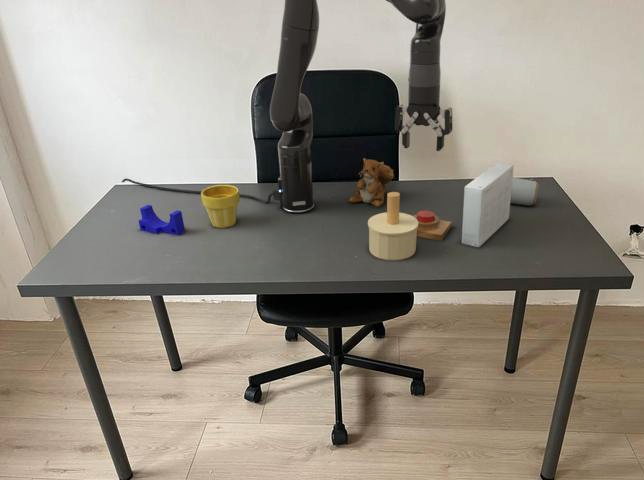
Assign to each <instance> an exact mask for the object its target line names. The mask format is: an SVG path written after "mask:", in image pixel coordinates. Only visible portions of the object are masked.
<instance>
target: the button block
mask: <svg viewBox="0 0 644 480" xmlns="http://www.w3.org/2000/svg"><path fill="white" fill-rule="evenodd" d="M410 215H411V216H413V217H415V218H416V219H417V218H418V213H416V214H413V215H412V214H410ZM451 228H452V221H449V220H448V221H447V220H443V219H440V217H439V216H438V215H436V214H434V221H432V222H426V223H425V222H420V221H418V228H417V236H416V237H420V238H424V239H430V240H436V241H441V242H442V241H443V239H444V238H445V236H446V235H447V234H448V232H449V231H450V230H451Z"/></svg>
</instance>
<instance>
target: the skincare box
mask: <svg viewBox="0 0 644 480" xmlns="http://www.w3.org/2000/svg"><path fill="white" fill-rule="evenodd" d="M514 168H515V166H514V164H510V163H502V162H496V163H494V164H493V165H492V166H491V167H489V168H488V169H486V170H485V171H484V172H481V174H480V175H478V176H477V177H475V178H474V179H473V180H471V181H470V182H469V183H468V184H465V186H464V191H463V192H464V193H463V209H462V210H463V211H462V229H461V244H463V245H467V246H472V247H475V248H480V247H481V246H482V245H483V244H485V242H486V241H488V240H489V238H491V237H492V236H493V235H494V234H495V233H496V232H497V231H498V230H499V229H500V228H501V227H502V226H503V225H505V223H506V222H507V221H508V220H509V219H510V212H511V211H510V208H511V203H510V199H511V189H512V179H513V177H514Z"/></svg>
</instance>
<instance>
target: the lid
mask: <svg viewBox="0 0 644 480" xmlns="http://www.w3.org/2000/svg"><path fill="white" fill-rule="evenodd" d="M386 195H387V198H386V211H385V212H381V213H377V214H375V215H372V216H371V217H369V219H368V221H367V226H368V227H367V228H368V229H369V228H370V229H371V230H372V231H374V232H376V233H379V234H383V235H404V234H408V233H411V232H413V231H415V230H416V229H417V228H418V220H417V219H416V218H415V217H413V216H411V215H412V214H408V213H405V212H400V200H401V199H400V198H401V193H400V192H397V191H390V192H388V193H386Z"/></svg>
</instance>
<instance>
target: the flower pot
mask: <svg viewBox="0 0 644 480" xmlns="http://www.w3.org/2000/svg"><path fill="white" fill-rule="evenodd" d="M201 191H202V192H201V193H200V196H201V197H200V198H201V203H202V205H203V207H205V209H206V212H207V214H208V217H209V220H210V222H211V225H212V226H213V227H215V228H218V229H224V228H229V227H232V226H235V224H236V222H237V214H238V213H237V212H238V204H239V203H240V196H239V194H240V190H239V188H238V187H237V186H234V185H231V184H217V185H211V186H207V187H206V188H203V190H201Z"/></svg>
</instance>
